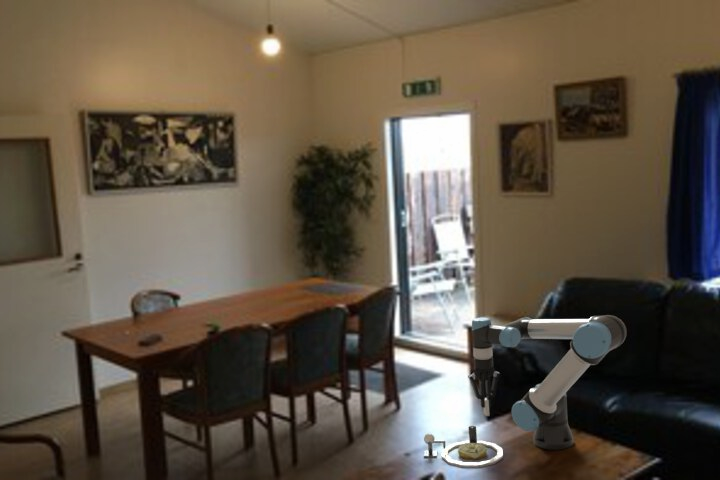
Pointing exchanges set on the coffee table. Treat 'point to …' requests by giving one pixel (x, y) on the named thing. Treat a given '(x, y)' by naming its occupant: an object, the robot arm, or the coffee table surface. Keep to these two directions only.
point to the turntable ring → (472, 440)
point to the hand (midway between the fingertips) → (486, 414)
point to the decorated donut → (472, 451)
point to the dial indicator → (430, 440)
